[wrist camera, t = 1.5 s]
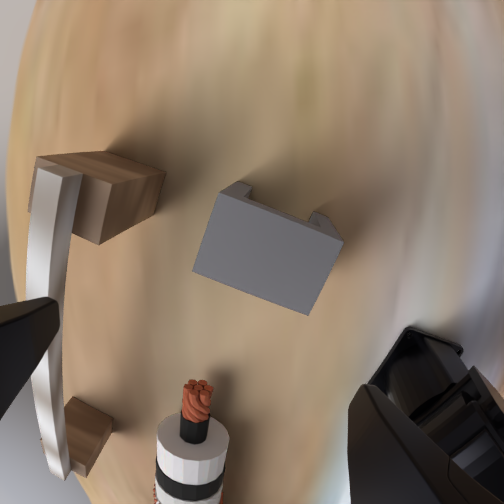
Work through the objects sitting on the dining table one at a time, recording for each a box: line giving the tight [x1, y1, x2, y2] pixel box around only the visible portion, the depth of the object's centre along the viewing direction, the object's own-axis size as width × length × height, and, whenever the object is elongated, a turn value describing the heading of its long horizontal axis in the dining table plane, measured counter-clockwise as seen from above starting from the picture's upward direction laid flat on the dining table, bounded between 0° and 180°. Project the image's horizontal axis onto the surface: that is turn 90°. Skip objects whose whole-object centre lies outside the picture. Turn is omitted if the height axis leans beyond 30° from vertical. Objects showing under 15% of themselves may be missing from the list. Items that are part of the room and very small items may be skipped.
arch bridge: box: [26, 151, 166, 481], centre depth 20 cm, size 28×5×9 cm, turn 159°
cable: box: [153, 380, 230, 504], centre depth 25 cm, size 10×34×10 cm, turn 171°
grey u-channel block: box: [192, 181, 344, 316], centre depth 17 cm, size 4×6×6 cm, turn 70°
